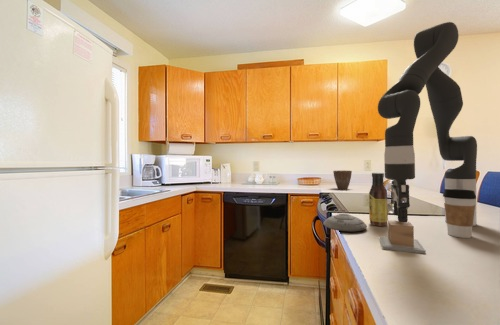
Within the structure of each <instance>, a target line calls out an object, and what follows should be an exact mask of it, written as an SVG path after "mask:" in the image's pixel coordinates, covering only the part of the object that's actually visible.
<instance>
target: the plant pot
mask: <svg viewBox="0 0 500 325" xmlns="http://www.w3.org/2000/svg"><path fill="white" fill-rule="evenodd" d="M352 172H353V171H352V170H333V171H332V173H333V178H334V182H335V185H336V187H337V189H338V190H340V191H346V190H349V186H350V182H351V179H352Z"/></svg>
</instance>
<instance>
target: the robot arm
mask: <svg viewBox="0 0 500 325" xmlns="http://www.w3.org/2000/svg"><path fill="white" fill-rule="evenodd" d="M458 42H459V30H458V26H457V25H456V24H455V22H451V21H447V22H442V23H440V24H437V25H434V26H431V27H429V28H425V29H422V30H420V31H418V32H417V33H416V34H415V35H414V37H413V49H414V54H415V56H416V60H414V61H413V62H411V64H409V65H408V66H407V67H406V68H405V70H404V71H403V73H402V74H401V76H400V78H399V79H398V80H397V82H396V83H395V84H393V85H392V86H391V87H390V88H389V89H388V90H387V91H386V92H385V93H384V94H383V95H382V96H381V98H380V99H379V101H378V104H377V113H378V114H379V116H380V117H381V118H383V119H387V120H388V119H389V120H390V119H398V118H399V119H398V121H397V123H395V124H393V125H391V126H388V127H387V128H385V130H384V142H385V143H384V153H383V155H384V157H383V158H384V178H385V179H387V180H391V185H390V189H391V199H392V202H393V215H394V216H397V221H399V222H409V221H408V215H409V214H408V209H409V208H410V206H411V204H410V185H409V184H407V182H406V181H408V180H414V179H415V178H416V164H415V163H416V159H415V158H416V157H415V148H414V130H415V125H416V122H417V118H418V115H419V112H420V108H421V98H420V95H419V94H421V93H422V91H423V89H424V88H426V92H427V98H428V102H429V105H430V110H431V113H432V117H433V121H434V125H435V130H436V136H437V143H438V150H439V155H440V156H441V158H442V160H443V161H451V162H453V161H455V162H456V161H459V162H461V161H463V163H462V164H461V165H460V166H458V167H455V168H451V169H447V170H445V173H444V189H462V190H472V191H474V192H475V195H476V196H477V156H478V154H477V153H478V143H477V139H476V138H475V136H472V135H465V136H450V130H451V128H452V125H453V124H454V122H455V121H456V119H457V118H458V116H459V114H460V113H461V111H462V109H463V106H464V100H463V96H462V91H461V87H460V85H459V84H458V83H457V81H455V80H454V79H453V78H452V77H451V76H449V75H448V74H447V73H445V72H444V71H443V70H442V69H441V68H440V67H439V66H441V64H442V63H443V62H444V60H446V58H448V56H449V55H451V53H452V52H453V51H454V50H455V48H456V46H457V44H458ZM474 205H475V211H474V219H473V227H475V226H478V225H477V223H478V222H477V220H478V219H477V211H478V210H477V208H478V207H477V198H476V199H475V203H474ZM444 215H445V217H444V220H445V221H444V222H445V223H447V222H446V214H444Z"/></svg>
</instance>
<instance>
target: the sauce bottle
mask: <svg viewBox="0 0 500 325" xmlns="http://www.w3.org/2000/svg"><path fill="white" fill-rule="evenodd" d="M371 177H372V179H371V180H372V182H371V183H372V184H371V187H370V190H369V191H368V210H369V211H368V212H369V224H371V225H372V226H376V227H386V226H388V220H389V216H388V212H389V211H388V210H389V209H388V191H387V188H386V187H385V185H384V184H385V183H384V178H385V172H372V173H371Z"/></svg>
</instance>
